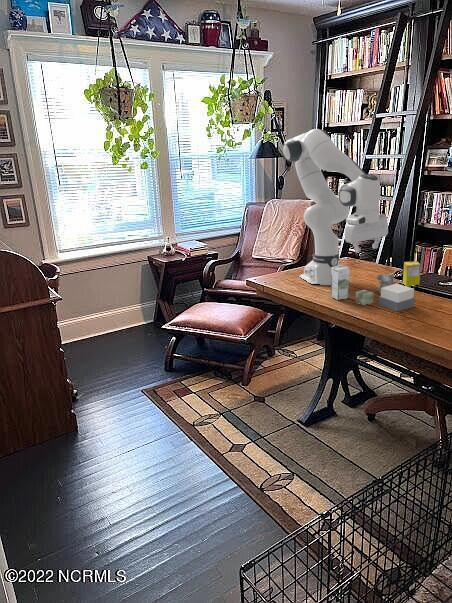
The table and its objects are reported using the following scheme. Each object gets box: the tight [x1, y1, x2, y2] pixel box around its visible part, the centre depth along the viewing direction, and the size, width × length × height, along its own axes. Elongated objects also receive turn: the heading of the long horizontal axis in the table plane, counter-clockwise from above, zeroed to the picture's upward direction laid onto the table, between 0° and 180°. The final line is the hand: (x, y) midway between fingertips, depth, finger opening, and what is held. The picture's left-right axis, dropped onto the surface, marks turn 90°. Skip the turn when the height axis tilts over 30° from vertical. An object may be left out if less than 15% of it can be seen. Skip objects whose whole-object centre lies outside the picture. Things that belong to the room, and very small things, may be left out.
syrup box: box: [330, 264, 350, 301], centre depth 199 cm, size 6×6×14 cm
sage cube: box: [355, 289, 374, 306], centre depth 193 cm, size 5×5×5 cm
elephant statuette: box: [376, 273, 398, 295], centre depth 205 cm, size 9×12×8 cm
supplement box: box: [402, 261, 422, 288], centre depth 208 cm, size 6×6×11 cm
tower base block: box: [378, 295, 416, 312], centre depth 188 cm, size 10×10×4 cm
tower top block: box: [380, 283, 415, 303], centre depth 186 cm, size 9×9×4 cm
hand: (366, 250), depth 186 cm, fingers open, 8 cm apart
